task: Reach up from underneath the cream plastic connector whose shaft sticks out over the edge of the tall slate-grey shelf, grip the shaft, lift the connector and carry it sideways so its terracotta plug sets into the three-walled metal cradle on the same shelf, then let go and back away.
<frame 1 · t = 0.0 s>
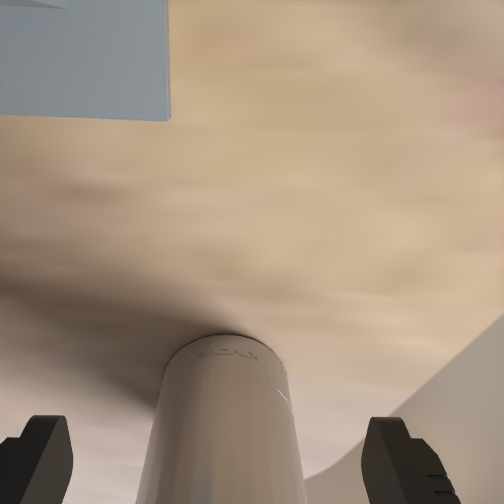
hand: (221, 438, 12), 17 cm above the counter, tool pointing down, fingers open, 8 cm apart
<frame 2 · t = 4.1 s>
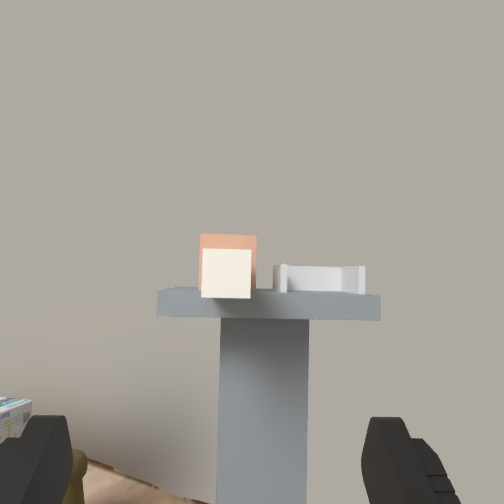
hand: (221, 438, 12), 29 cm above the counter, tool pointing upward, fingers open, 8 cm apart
connector: (226, 294, 32), point 32 cm above the counter, touching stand
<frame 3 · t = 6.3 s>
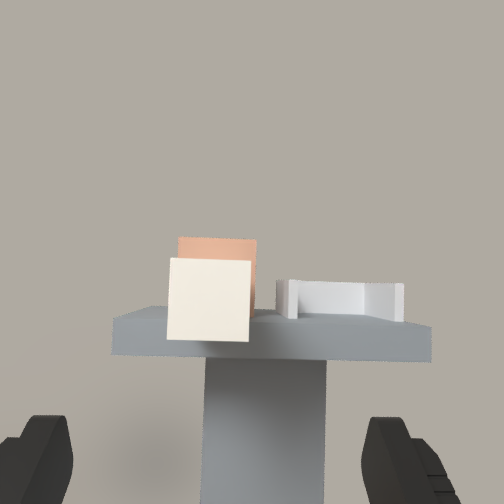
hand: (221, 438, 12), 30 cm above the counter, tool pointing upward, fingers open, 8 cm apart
connector: (211, 327, 21), point 32 cm above the counter, touching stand
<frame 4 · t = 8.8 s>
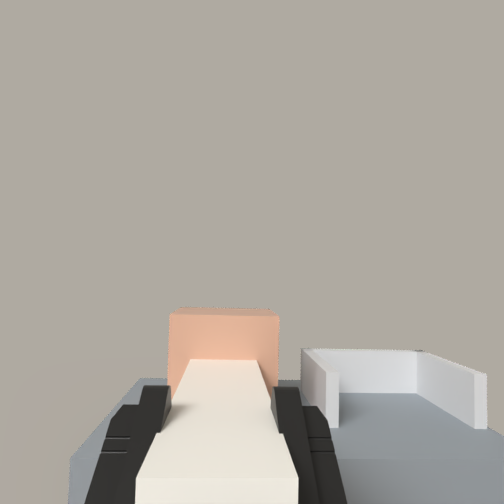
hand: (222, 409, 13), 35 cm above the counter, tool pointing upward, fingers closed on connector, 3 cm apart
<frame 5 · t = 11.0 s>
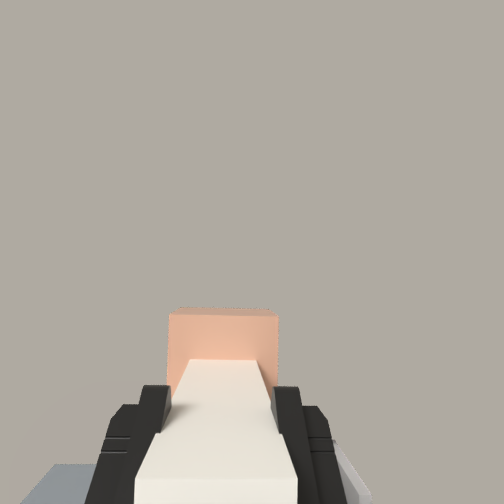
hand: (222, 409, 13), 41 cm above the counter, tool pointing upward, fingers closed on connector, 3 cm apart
when the fingers open (36 cm above the counter, at t = 13.4 s): connector stays where it is, resting on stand.
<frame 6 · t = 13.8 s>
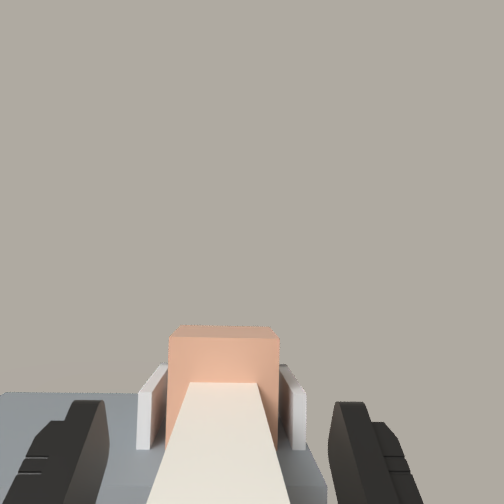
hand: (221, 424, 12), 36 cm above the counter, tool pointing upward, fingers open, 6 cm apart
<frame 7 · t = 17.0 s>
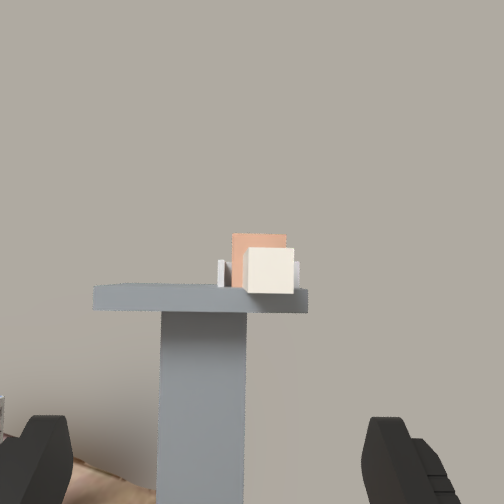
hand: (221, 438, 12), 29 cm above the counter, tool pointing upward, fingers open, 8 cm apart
connector: (264, 290, 34), point 32 cm above the counter, touching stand
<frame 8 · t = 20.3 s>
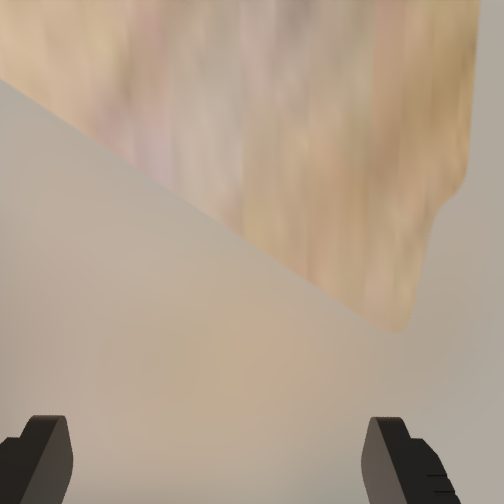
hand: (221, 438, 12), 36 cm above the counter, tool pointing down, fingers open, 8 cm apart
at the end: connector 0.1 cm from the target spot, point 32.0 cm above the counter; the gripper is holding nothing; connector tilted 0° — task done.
